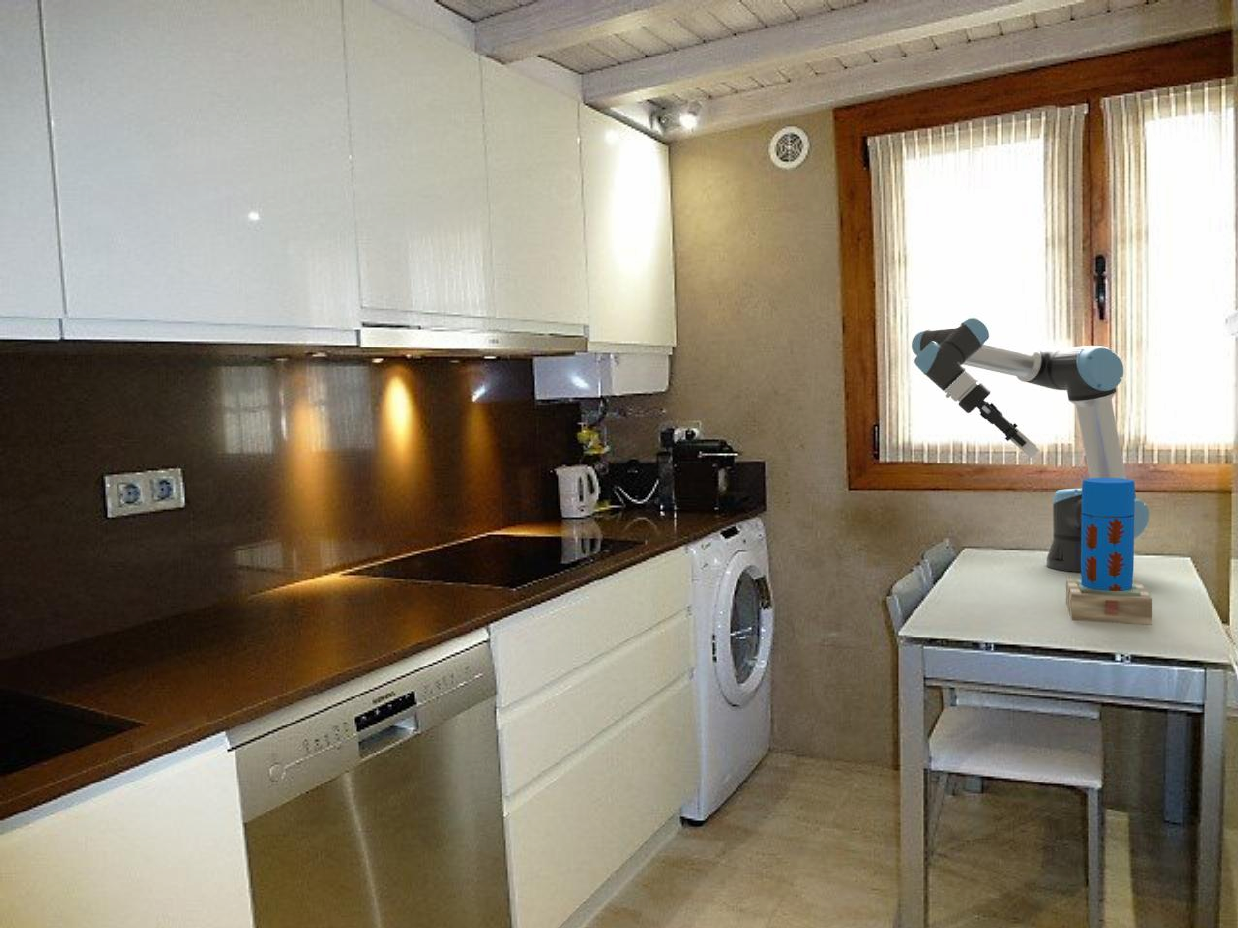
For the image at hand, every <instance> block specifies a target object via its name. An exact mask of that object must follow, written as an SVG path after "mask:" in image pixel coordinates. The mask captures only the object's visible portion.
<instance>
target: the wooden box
mask: <svg viewBox="0 0 1238 928" xmlns="http://www.w3.org/2000/svg"><path fill="white" fill-rule="evenodd" d="M1065 605H1066V607H1067V610H1068V612H1069V613H1068V614H1069V615H1070V618H1071V621H1087V622H1101V623H1117V624H1118V623H1120V624H1134V625H1135V624H1137V625H1147V626H1148V625H1151V626H1152V624H1153V597H1152V596H1151V595H1150V593H1149V591H1147V589H1146V587H1144V585H1143V584H1142V583H1141V582H1135V581H1133V582H1132V589H1130V590H1125V591H1104V590H1096V589H1091V588H1087V587H1084V586H1083V585H1082V580H1081V578H1075V579H1068V578H1066V579H1065Z"/></svg>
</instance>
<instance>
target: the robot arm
mask: <svg viewBox="0 0 1238 928" xmlns="http://www.w3.org/2000/svg"><path fill="white" fill-rule="evenodd" d="M990 334H991V333H990V330H989V328H988V327H987V325H986V324H985V323H984V322H983V321H982V320H980V319H979V318H975V317H969V318H967V319H966V320H964V321H963V322H961V323H960V325H959V326H957V327H947V328H938V329H926V330H923V331H922V330H921V331H920V332H917V334H915V336H914V337H913V338H912V343H911V344H912V345H911V349H912V351H913V353H914V355H915V356H916V357H914V359H913V362H914V365H915V366H916V367H917V368H918V370H920V372H921V373H922V374H923V375H924V376H926V377H927V378H928V379H929V380H930V381H932V382H933V383H934V384H935V385H936V386H937V387H939V388H940V389H941V390H942V391H943V392H944V393H946V394H945V397H946V399H948V398H950V399H952V400H953V402H958V403H957V404H958V406H959V407H960V408H961V409H962V410H964V411H965V412H966V414H971V412H972V411H973V412H974V410H975V409H976V408H977V409H978V411H979V415H980V416H981V417H982V418H983V419H984V420H986V421H988V423H990V424H991V425H994V426H995V427H996V428H998V430H999V431H1000V432H1002V434H1003V435H1004V436H1005V437H1004V440H1006V441H1011V442H1012V443H1013V444H1014V445H1015V446H1016V447H1018V448H1019V449H1020V450H1021V451H1022V452H1023V453H1024V454H1025V455H1026V456H1027V457H1028V458H1029V459H1032V458H1033V457H1035V455H1037V453H1038V452H1040V449H1039V448H1037V445H1036V444H1035V443H1034V442H1032V440H1030V439H1029V438H1028V437H1027V436H1026V435H1025V434H1024V433H1023V432H1021V431H1020V430H1019V429H1018V428H1017V427H1018V424H1016V423H1015V422H1014V423H1011V422H1009V420H1007V419H1006V418H1005V417H1004V416H1003V413H1002V412H1001V411H1000V410H999V408H997V406H996V405H995V404H994V403H993V402H991V403H989V402H987V401H986V400H985V399H986V398H988V397H989V395H990V394H991V390H989V388H987V387H986V385H984V384H983V383H980V382H978V380H979V379H977V377H975V376H974V375H973V374H972V373H971V372H970V371H969V370H968V369H966V368H965V367H964V366H968V367H972V368H978V369H983V370H985V371H986V370H987V371H991V372H996V373H1000V374H1005V375H1009V376H1013V377H1014V376H1015V377H1016V378H1017V379H1018V380H1019V381H1021V382H1024V383H1029V384H1033V385H1036V386H1040V387H1043V388H1047V389H1052V390H1056V391H1066V392H1067V401H1069V402H1070V403H1072V404H1073V405H1075V407H1076V413H1077V419H1078V423H1079V429H1080V434H1081V440H1082V444H1083V448H1084V450H1083V451H1084V454H1085V460H1086V464H1087V470H1088V475H1089V478H1121V479H1127V475H1126V472H1125V471H1126V470H1125V465H1124V460H1123V455H1122V449H1121V444H1120V438H1119V433H1118V427H1117V422H1116V416H1115V412H1114V410H1115V409H1114V405H1113V400H1112V399H1113V397H1114V396H1115V395H1116V394H1117V387H1118V386H1119V385H1120V383H1121V381H1122V378H1123V376H1124V366H1123V362H1122V360H1121V358H1120V356H1119V355H1118V354H1117V353H1116V351H1114V350H1112V349H1111V348H1109V347H1107V346H1097V345H1087V346H1077V347H1076V346H1074V347H1060V348H1048V349H1046V348H1041V349H1040V348H1036V347H1028V348H1025V349H1024V348H1018V347H1015V346H1009V345H1006V344H1005V345H1004V344H1000V343H997V342H993V341H988V340H989V339H990ZM963 365H964V366H963ZM1052 506H1053V509H1052V511H1053V512H1052V513H1053V517H1052V518H1053V524H1052V525H1053V526H1052V527H1053V539H1052V543H1051V546H1050V548H1049V550H1048V553H1047V556H1046V566H1047V567H1048V568H1050V569H1052V570H1053V569H1054V570H1057V571H1058V570H1059V571H1065V572H1079V573H1081V528H1082V487H1081V488H1068V489H1067V488H1066V489H1059V490H1057V491H1055V493H1054V496H1053V503H1052ZM1149 520H1150V509H1149V507H1148V505H1147V503H1146V502H1144V501H1143V500H1141V499H1139V498H1137V495H1136V493H1135V513H1134V540H1135V539H1137V538H1138V537H1140V536H1141V535H1142V534H1143V533H1144V532H1145V529H1146V528H1147V526H1148V524H1149Z"/></svg>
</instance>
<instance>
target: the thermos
mask: <svg viewBox="0 0 1238 928" xmlns="http://www.w3.org/2000/svg"><path fill="white" fill-rule="evenodd" d="M1135 485H1136V484H1135V480H1133V479H1129V478H1126V479H1121V478H1090V477H1089V478H1084V479H1083V480H1082V486H1081V488H1082V528H1081V572H1080V576H1081V577H1080V579H1081V580H1082V585H1083V586H1084V587H1087V588H1091V589H1096V590H1104V591H1125V590H1130V589H1132V582H1134V580H1133V579H1134V561H1135V560H1134V559H1135V556H1134V554H1135V551H1134V550H1135V539H1134V513H1135V494H1136V486H1135Z"/></svg>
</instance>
